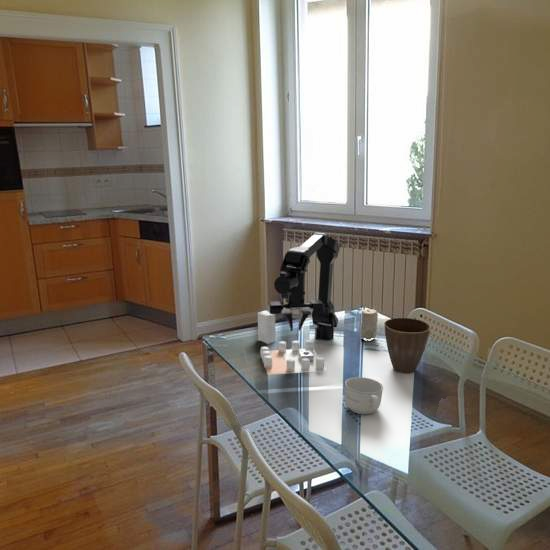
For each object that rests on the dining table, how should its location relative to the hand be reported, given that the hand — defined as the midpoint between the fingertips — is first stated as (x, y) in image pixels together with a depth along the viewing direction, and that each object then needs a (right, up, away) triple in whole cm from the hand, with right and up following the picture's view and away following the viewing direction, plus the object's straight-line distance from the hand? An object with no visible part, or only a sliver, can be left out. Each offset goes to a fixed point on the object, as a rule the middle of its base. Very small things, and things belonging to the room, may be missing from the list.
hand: (295, 330), depth 177 cm
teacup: (+18, -20, -29) cm, 40 cm away
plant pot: (+37, -13, -1) cm, 39 cm away
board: (-1, -12, +3) cm, 12 cm away
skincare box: (-10, -7, +21) cm, 24 cm away
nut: (+4, -11, +3) cm, 12 cm away
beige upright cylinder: (+30, -6, +25) cm, 40 cm away
